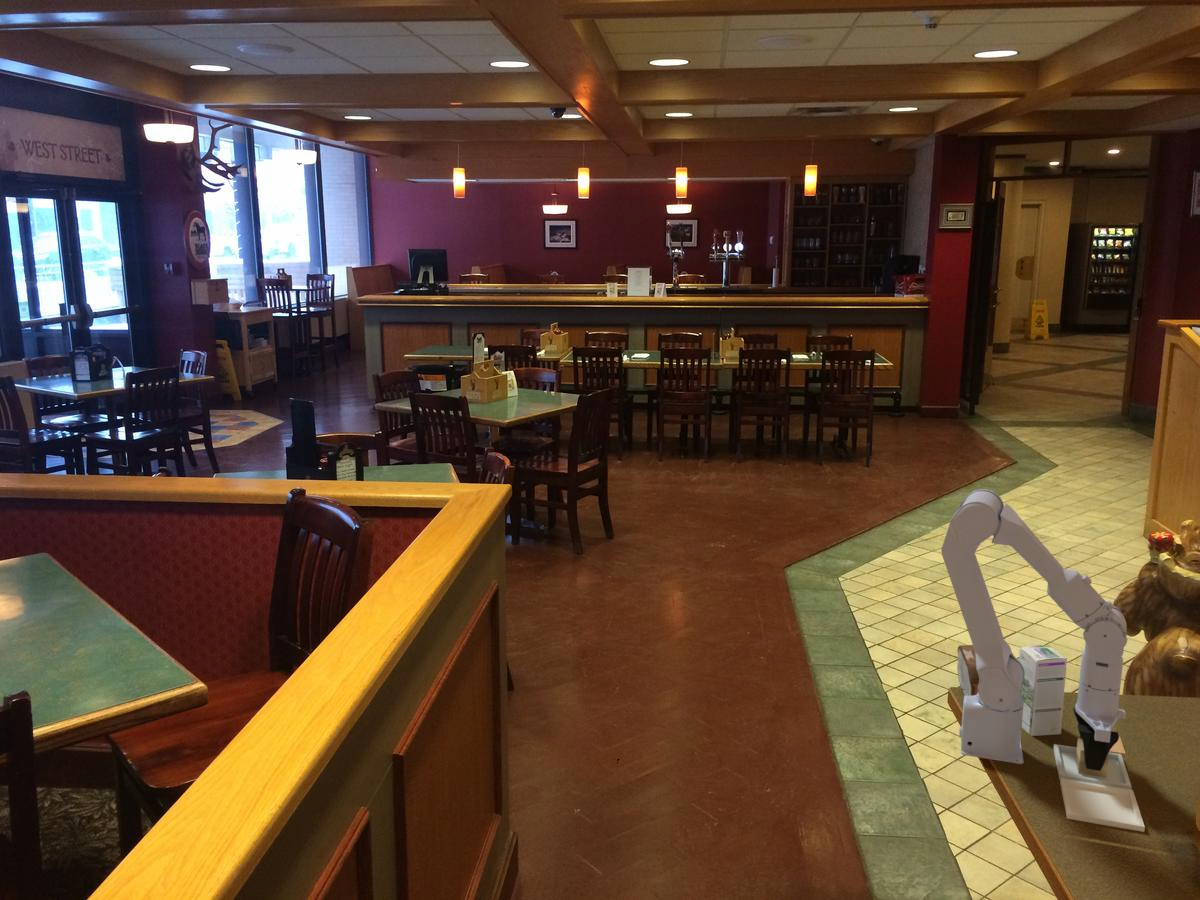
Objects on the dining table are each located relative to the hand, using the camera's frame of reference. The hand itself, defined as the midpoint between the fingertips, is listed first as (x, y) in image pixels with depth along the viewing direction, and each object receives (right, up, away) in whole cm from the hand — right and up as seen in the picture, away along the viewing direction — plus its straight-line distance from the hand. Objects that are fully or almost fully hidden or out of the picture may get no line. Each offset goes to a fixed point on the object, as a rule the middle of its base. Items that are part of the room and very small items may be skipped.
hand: (1091, 761), depth 151 cm
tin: (-9, +3, +27) cm, 28 cm away
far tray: (0, -2, 0) cm, 2 cm away
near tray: (-4, -4, -10) cm, 11 cm away
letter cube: (0, -1, 0) cm, 1 cm away
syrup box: (-2, +1, +14) cm, 14 cm away
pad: (+6, 0, +8) cm, 11 cm away
